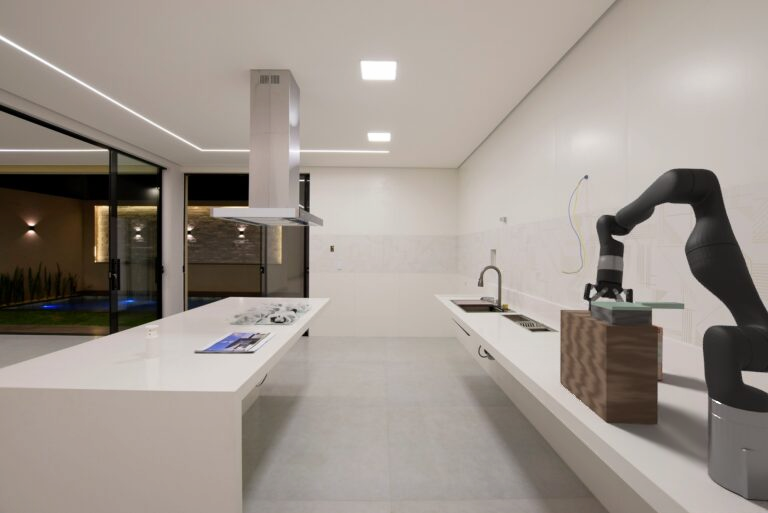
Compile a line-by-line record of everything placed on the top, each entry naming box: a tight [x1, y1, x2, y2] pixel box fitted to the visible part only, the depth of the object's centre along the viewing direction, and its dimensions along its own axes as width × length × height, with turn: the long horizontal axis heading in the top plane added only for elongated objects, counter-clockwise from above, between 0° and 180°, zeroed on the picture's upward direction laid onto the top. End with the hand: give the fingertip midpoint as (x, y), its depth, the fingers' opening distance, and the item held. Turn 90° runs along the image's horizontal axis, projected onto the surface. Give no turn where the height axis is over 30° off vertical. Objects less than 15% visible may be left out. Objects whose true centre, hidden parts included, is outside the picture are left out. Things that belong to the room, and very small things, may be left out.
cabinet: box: [559, 304, 659, 426], centre depth 105 cm, size 28×14×32 cm, turn 175°
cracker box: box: [652, 324, 664, 381], centre depth 130 cm, size 14×6×21 cm, turn 168°
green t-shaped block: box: [591, 300, 685, 312], centre depth 98 cm, size 11×23×3 cm, turn 85°
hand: (606, 315), depth 110 cm, fingers open, 8 cm apart
